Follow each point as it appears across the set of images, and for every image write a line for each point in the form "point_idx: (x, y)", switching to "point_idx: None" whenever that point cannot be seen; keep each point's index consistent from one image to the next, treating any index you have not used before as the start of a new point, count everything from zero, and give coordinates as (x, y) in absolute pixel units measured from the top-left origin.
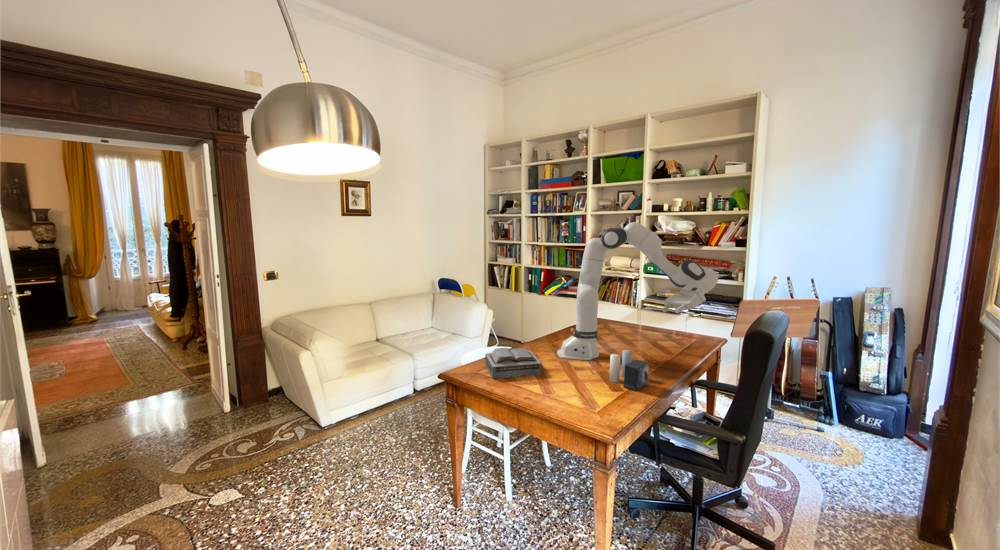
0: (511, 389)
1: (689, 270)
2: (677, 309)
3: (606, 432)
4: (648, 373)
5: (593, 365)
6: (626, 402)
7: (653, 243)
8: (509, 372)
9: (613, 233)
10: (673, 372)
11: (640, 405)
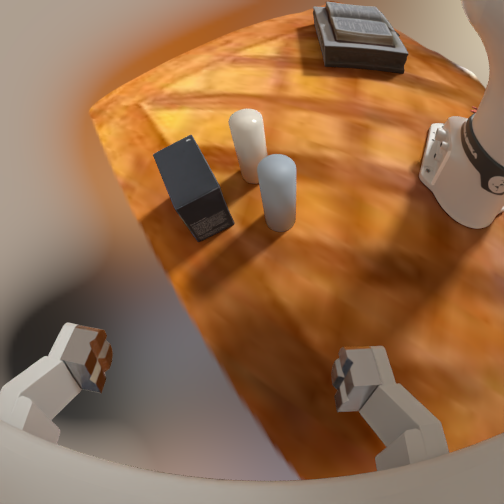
0: (265, 32)
1: None
2: (58, 337)
3: (93, 106)
4: (186, 224)
5: (379, 170)
6: (142, 153)
7: None
8: (316, 27)
9: None
10: (268, 393)
11: (120, 172)
